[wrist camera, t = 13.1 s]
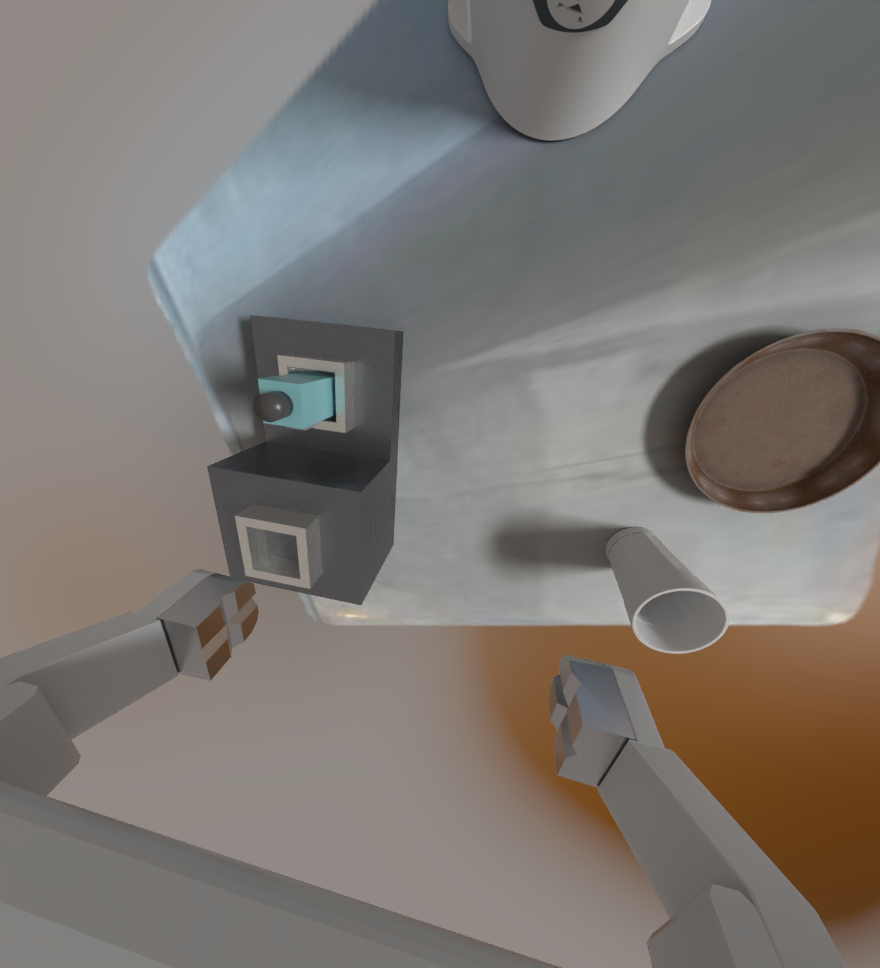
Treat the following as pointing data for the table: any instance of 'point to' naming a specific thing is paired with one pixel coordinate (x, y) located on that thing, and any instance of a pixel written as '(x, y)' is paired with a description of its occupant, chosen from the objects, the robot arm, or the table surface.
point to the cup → (664, 594)
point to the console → (317, 467)
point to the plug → (296, 399)
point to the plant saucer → (790, 423)
